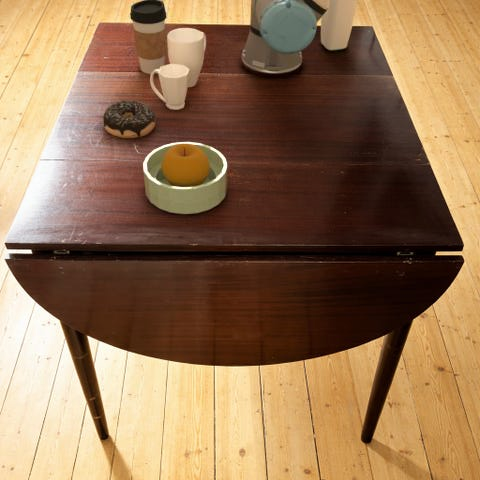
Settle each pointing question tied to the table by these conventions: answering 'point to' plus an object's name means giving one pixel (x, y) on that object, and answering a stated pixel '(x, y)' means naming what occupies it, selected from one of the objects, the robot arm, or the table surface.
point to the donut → (129, 119)
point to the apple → (185, 165)
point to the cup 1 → (172, 84)
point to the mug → (187, 50)
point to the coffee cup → (149, 33)
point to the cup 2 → (337, 24)
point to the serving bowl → (185, 197)
